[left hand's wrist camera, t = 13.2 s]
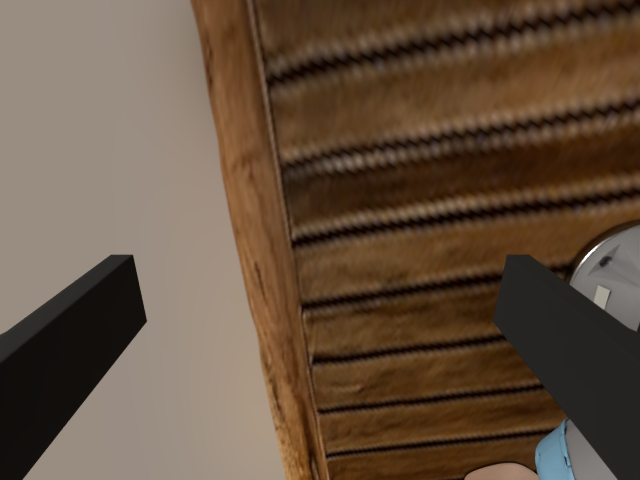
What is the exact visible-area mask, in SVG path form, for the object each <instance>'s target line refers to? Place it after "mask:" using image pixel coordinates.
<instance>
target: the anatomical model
mask: <svg viewBox="0 0 640 480" xmlns="http://www.w3.org/2000/svg"><path fill="white" fill-rule="evenodd" d="M464 480H539V476H538V475H537V474H536V473H534V472H533V471H531V470H530V469H528V468H526V467H525V466H522V465H520V464H515V463H502V464H496V465H492V466H488V467H484V468H481V469H478V470H475V471H473V472H471V473H469V474H468V475H467V476H466V477H465V479H464Z"/></svg>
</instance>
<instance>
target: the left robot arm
mask: <svg viewBox="0 0 640 480" xmlns="http://www.w3.org/2000/svg"><path fill="white" fill-rule="evenodd" d="M146 322H147V319H146V314H145V310H144V305H143V300H142V295H141V291H140V286H139V281H138V276H137V272H136V267H135V262H134V258H133V255H110V256H109V257H107V258H106V259H105V260H103V261H102V262H101V263H99V264H98V265H96V266H95V267H94V268H92V269H91V270H90V271H88V272H87V273H86V274H84V275H83V276H82V277H80V278H79V279H77V280H76V281H75V282H73V283H72V284H71V285H69V286H68V287H67V288H65V289H64V290H62V291H61V292H60V293H58V294H57V295H56V296H54V297H53V298H52V299H50V300H49V301H47V302H46V303H45V304H43V305H42V306H41V307H39V308H38V309H37V310H35V311H34V312H33V313H31V314H30V315H29V316H27V317H26V318H24V319H23V320H22V321H20V322H19V323H18V324H16V325H15V326H14V327H12V328H11V329H9V330H8V331H7V332H5V333H3V334H1V335H0V480H23V478H24V477H25V476H26V475H27V473H28V472H29V471H30V469H31V468H32V467H33V466H34V464H35V463H36V462H37V461H38V459H39V458H40V457H41V455H42V454H43V453H44V452H45V450H46V449H47V448H48V447H49V445H50V444H51V443H52V441H53V440H54V439H55V438H56V436H57V435H58V434H59V433H60V431H61V430H62V429H63V427H64V426H65V425H66V424H67V422H68V421H69V420H70V419H71V417H72V416H73V415H74V413H75V412H76V411H77V410H78V408H79V407H80V406H81V405H82V403H83V402H84V401H85V400H86V398H87V397H88V396H89V394H90V393H91V392H92V391H93V389H94V388H95V387H96V385H97V384H98V383H99V382H100V380H101V379H102V378H103V377H104V375H105V374H106V373H107V371H108V370H109V369H110V368H111V366H112V365H113V364H114V363H115V361H116V360H117V359H118V358H119V356H120V355H121V354H122V352H123V351H124V350H125V349H126V347H127V346H128V345H129V344H130V342H131V341H132V340H133V338H134V337H135V336H136V335H137V333H138V332H139V331H140V330H141V328H142V327H143V326H144V324H145V323H146ZM493 322H494V323H495V324H496V326H497V327H498V328H499V330H500V331H501V332H502V333H503V335H504V336H505V337H506V338H507V340H508V341H509V342H510V344H511V345H512V346H513V347H514V349H515V350H516V351H517V352H518V354H519V355H520V356H521V358H522V359H523V360H524V361H525V363H526V364H527V365H528V366H529V368H530V369H531V370H532V372H533V373H534V374H535V375H536V377H537V378H538V379H539V380H540V382H541V383H542V384H543V386H544V387H545V388H546V389H547V391H548V392H549V393H550V394H551V396H552V397H553V398H554V400H555V401H556V402H557V403H558V405H559V406H560V407H561V408H562V410H563V411H564V412H565V414H566V415H567V416H568V417H569V418H566V419H565V420H563V421H562V423H561V425H560V426H559V427H558V428H557V429H555V430H554V431H553V432H551V433H550V434H549V435H548V436H546V437H545V438H544V439H542V440H541V441H540V443H539V444H538V446H537V448H536V452H535V462H536V467H537V473H538V476H539V480H640V220H637V221H632V222H628V223H625V224H621V225H619V226H616V227H614V228H612V229H610V230H608V231H606V232H604V233H603V234H601V235H600V236H598V237H597V238H595V239H594V240H593V241H591V242H590V243H589V244H588V245H587V246H586V247H585V248H583V250H582V251H581V252H580V253H579V254H578V255H577V256H576V258H575V259H574V260H573V262H572V263H571V265H570V267H569V269H568V271H567V273H566V275H565V278H564V280H563V279H561V278H560V277H559V276H557V275H556V274H554V273H553V272H552V271H550V270H549V269H548V268H546V267H545V266H544V265H542V264H541V263H539V262H538V261H537V260H535V259H534V258H533V257H531V256H530V255H507V258H506V262H505V267H504V272H503V276H502V281H501V286H500V291H499V295H498V300H497V305H496V310H495V314H494V319H493Z"/></svg>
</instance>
